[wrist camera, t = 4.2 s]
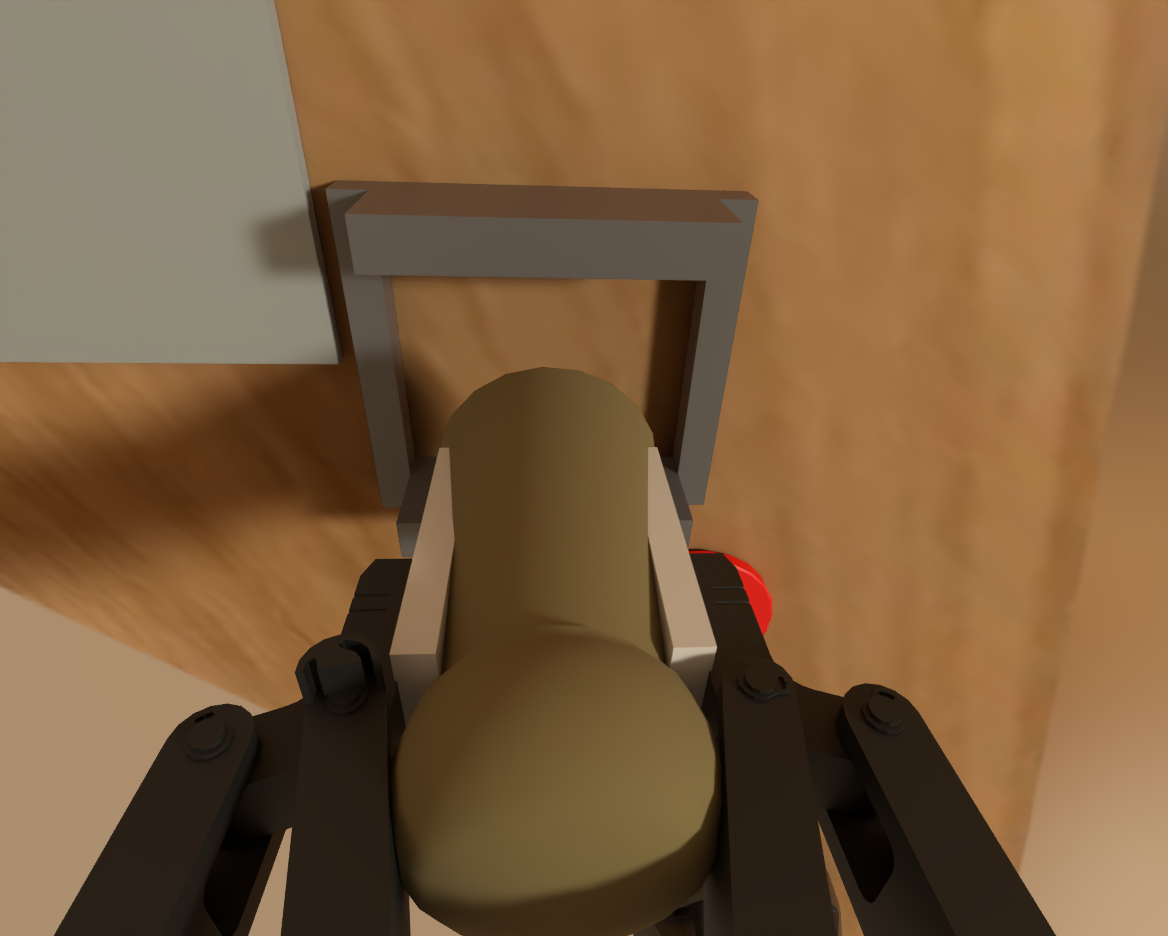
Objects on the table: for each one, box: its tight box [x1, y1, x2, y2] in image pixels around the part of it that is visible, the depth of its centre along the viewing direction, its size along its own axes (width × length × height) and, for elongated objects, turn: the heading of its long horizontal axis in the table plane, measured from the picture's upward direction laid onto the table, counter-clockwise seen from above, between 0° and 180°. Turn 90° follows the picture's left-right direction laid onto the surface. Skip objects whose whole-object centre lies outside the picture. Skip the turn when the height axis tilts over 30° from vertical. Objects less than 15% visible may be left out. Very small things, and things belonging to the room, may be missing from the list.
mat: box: [0, 0, 343, 364], centre depth 18 cm, size 12×12×1 cm
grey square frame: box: [325, 181, 758, 557], centre depth 21 cm, size 11×12×4 cm
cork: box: [391, 367, 722, 936], centre depth 13 cm, size 6×6×11 cm
